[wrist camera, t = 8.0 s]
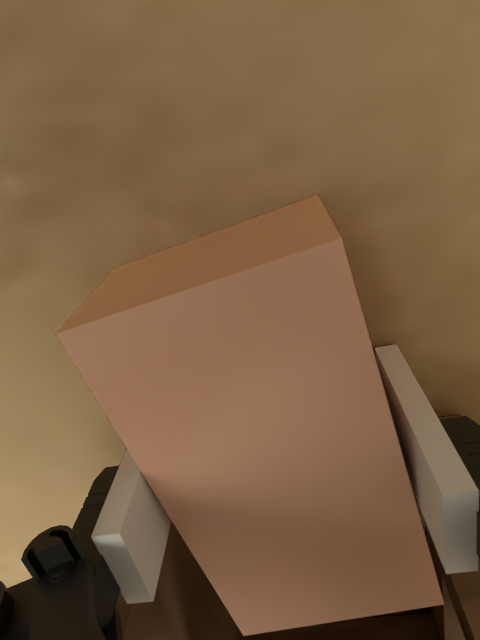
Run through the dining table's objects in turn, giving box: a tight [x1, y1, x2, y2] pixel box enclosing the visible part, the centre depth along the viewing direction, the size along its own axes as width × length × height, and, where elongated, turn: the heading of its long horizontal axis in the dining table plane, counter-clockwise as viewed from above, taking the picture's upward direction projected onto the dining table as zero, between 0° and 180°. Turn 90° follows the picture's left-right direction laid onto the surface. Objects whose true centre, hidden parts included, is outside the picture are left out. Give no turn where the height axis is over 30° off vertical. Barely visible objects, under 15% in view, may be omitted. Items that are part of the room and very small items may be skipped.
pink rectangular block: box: [56, 195, 444, 636], centre depth 15 cm, size 13×7×5 cm, turn 21°
